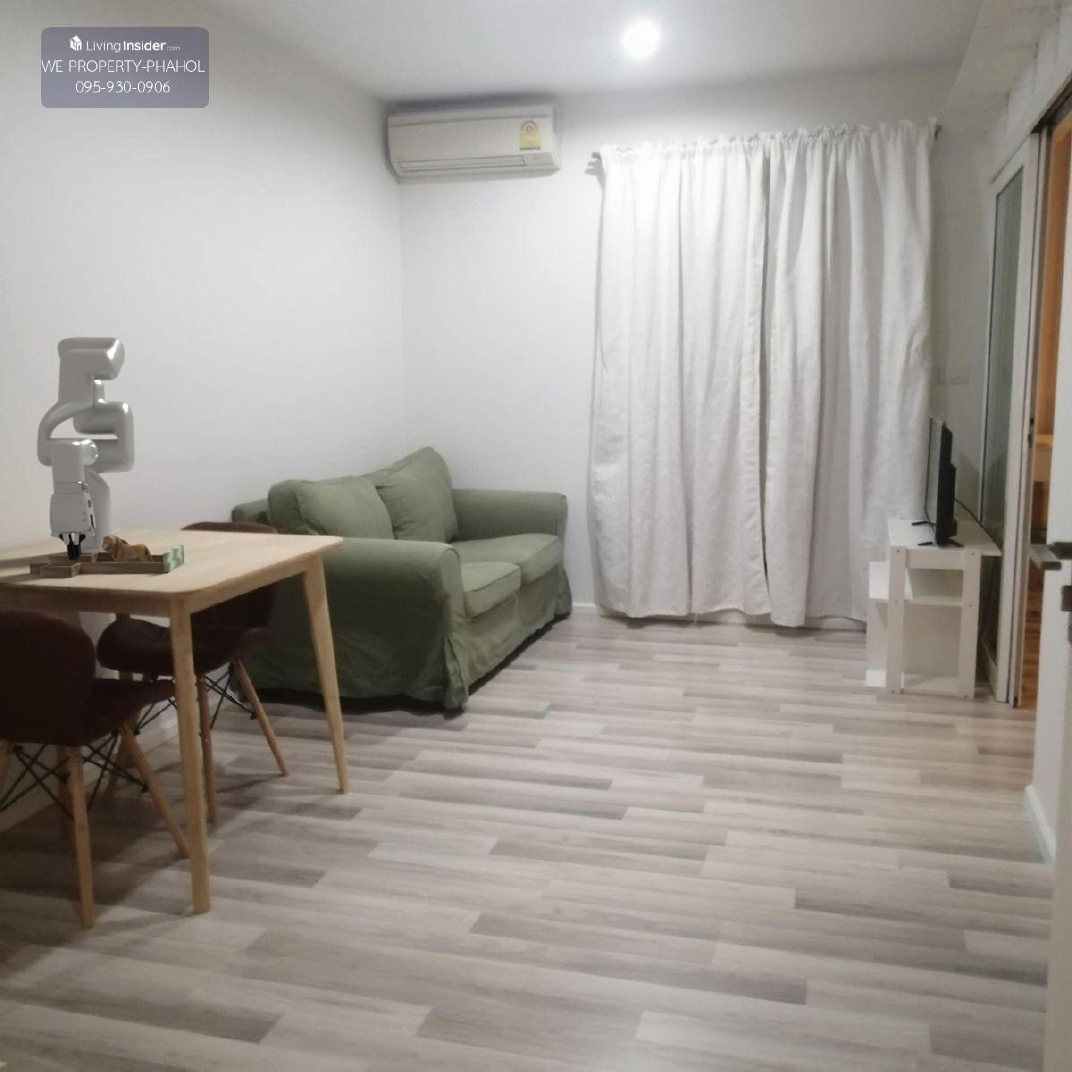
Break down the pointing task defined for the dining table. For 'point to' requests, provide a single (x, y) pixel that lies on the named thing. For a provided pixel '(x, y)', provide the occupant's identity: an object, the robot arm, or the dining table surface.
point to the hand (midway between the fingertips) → (74, 559)
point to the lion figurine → (125, 549)
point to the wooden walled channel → (107, 564)
